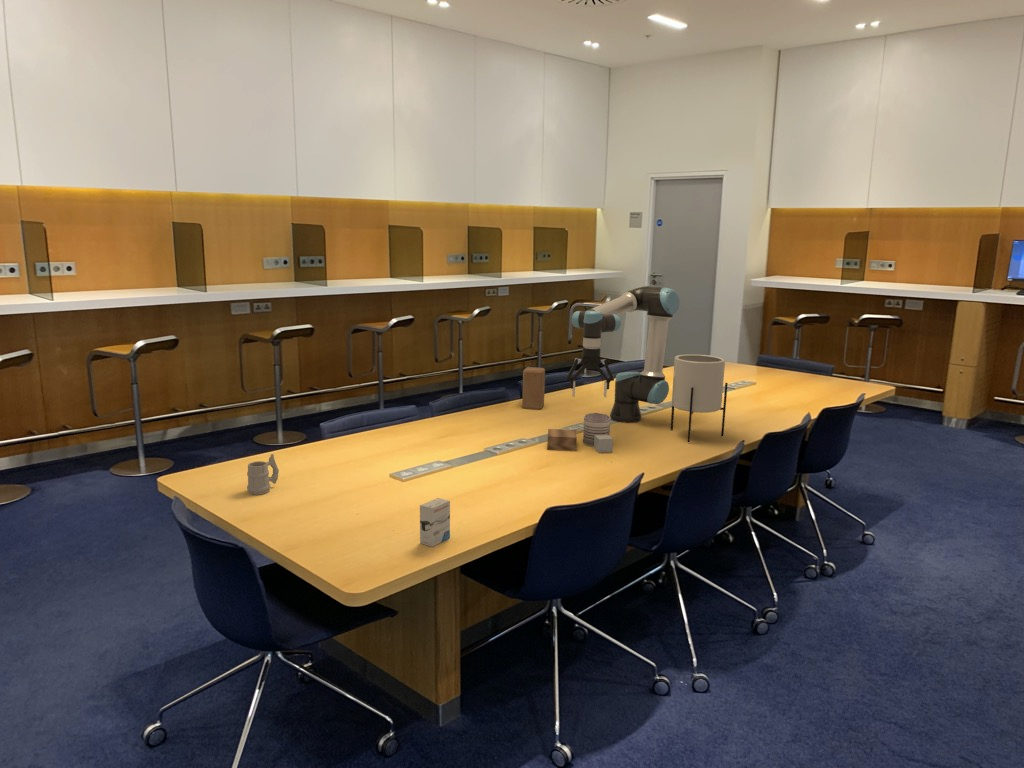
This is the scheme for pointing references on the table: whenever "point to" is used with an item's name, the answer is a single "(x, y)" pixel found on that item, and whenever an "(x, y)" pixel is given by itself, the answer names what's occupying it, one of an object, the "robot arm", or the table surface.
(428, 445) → the table surface
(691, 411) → the plant pot with stand
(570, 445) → the walnut block
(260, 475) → the mug
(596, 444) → the slate block
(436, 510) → the ink box
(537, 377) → the wooden block
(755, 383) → the table surface
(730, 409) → the table surface
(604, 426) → the can
